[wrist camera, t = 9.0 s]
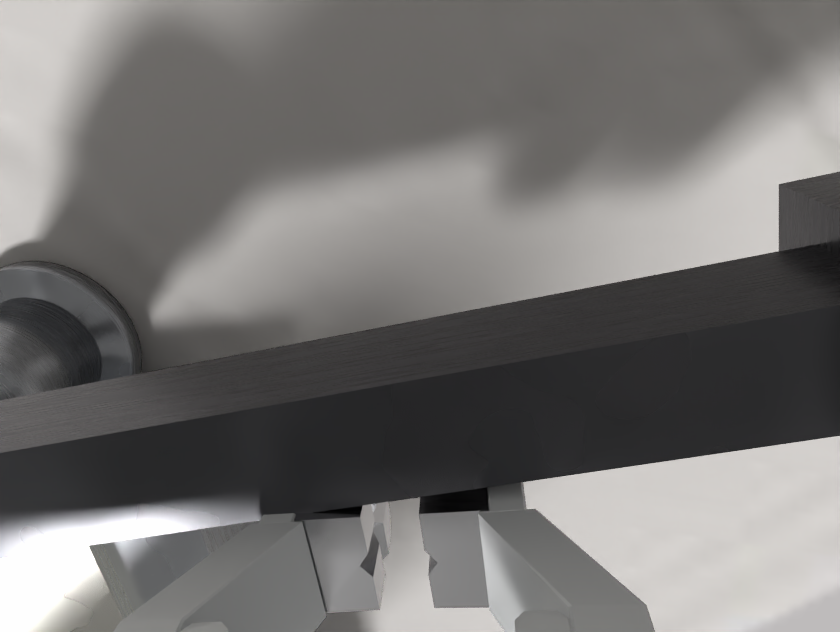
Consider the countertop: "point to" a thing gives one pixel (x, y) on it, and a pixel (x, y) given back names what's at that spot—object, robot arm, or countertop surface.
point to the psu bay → (98, 580)
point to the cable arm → (445, 400)
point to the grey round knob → (60, 331)
